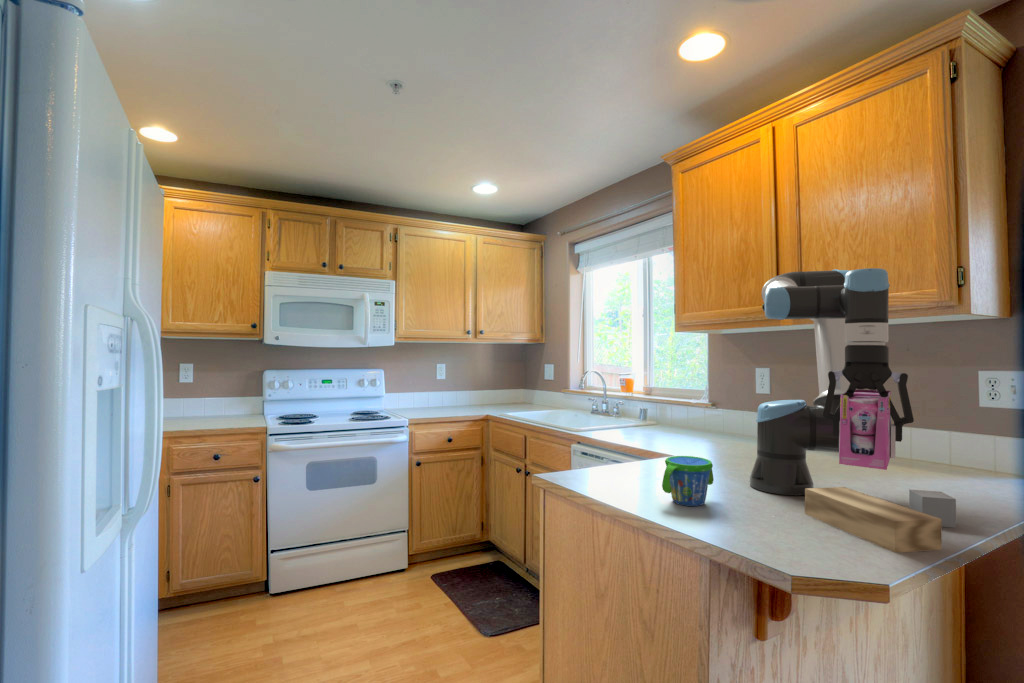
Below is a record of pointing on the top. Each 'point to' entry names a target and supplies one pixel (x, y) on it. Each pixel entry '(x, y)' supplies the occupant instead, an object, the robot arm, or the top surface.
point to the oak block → (875, 519)
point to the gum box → (865, 429)
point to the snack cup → (687, 479)
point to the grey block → (934, 505)
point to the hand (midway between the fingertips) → (866, 454)
